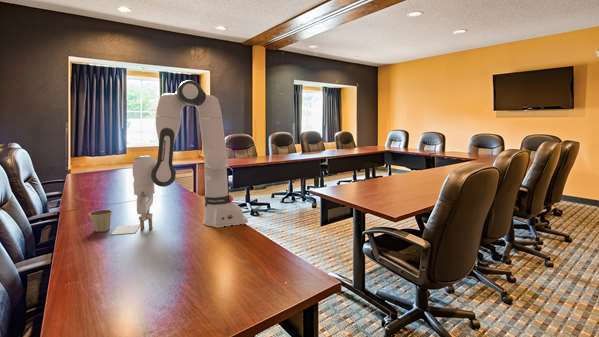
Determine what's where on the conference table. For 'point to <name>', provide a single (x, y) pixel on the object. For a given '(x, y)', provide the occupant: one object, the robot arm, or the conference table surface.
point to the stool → (149, 217)
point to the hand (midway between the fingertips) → (146, 218)
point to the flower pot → (101, 220)
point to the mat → (125, 229)
